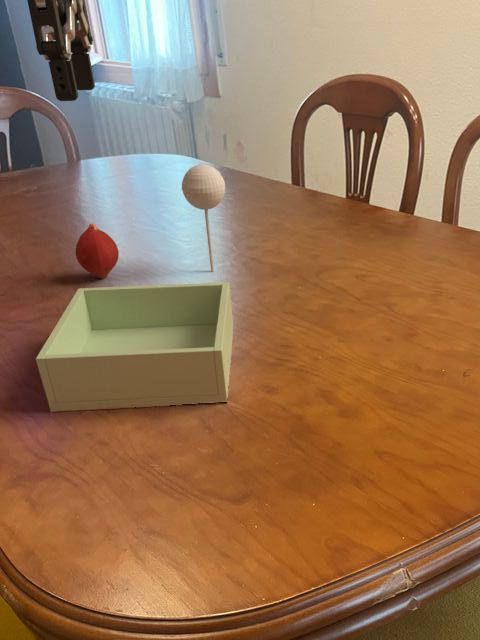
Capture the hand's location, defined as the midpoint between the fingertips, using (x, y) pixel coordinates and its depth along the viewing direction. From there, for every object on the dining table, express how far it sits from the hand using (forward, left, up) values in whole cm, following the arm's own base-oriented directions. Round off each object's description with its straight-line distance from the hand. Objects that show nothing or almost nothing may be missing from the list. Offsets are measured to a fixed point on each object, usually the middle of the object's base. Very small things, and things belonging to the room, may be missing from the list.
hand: (77, 95), depth 74 cm
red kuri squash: (-4, +10, -25) cm, 28 cm away
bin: (+7, -18, -25) cm, 32 cm away
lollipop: (+12, +11, -25) cm, 30 cm away
